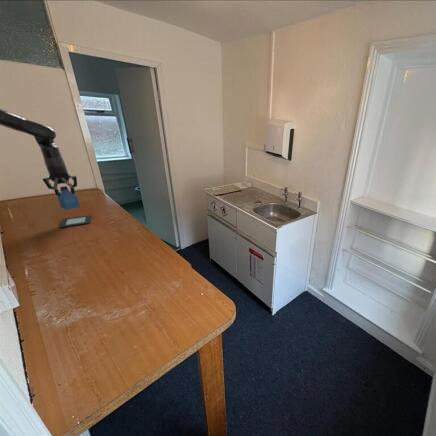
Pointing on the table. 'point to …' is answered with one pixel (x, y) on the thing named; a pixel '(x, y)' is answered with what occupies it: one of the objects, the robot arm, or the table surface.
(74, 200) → the perfume bottle
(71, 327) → the table surface
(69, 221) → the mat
